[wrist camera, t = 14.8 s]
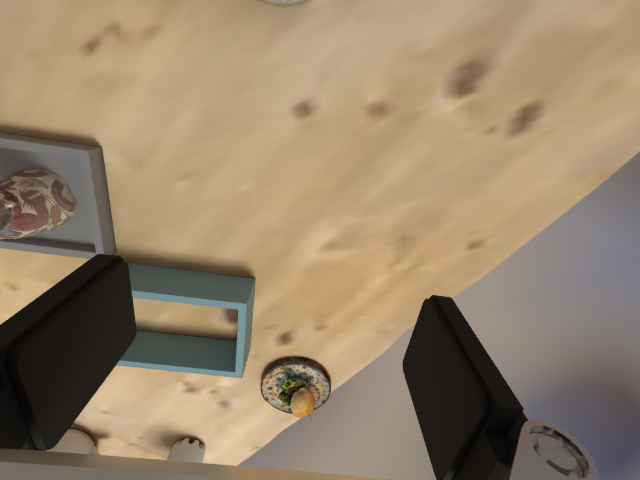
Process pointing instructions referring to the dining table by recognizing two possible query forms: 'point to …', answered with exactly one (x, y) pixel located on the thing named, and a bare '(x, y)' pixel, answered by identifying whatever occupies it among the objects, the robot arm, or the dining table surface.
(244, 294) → the tub
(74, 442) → the teacup
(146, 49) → the dining table surface
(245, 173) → the dining table surface
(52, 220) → the figurine
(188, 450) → the bottle
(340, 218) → the dining table surface
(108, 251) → the tray
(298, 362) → the burger
